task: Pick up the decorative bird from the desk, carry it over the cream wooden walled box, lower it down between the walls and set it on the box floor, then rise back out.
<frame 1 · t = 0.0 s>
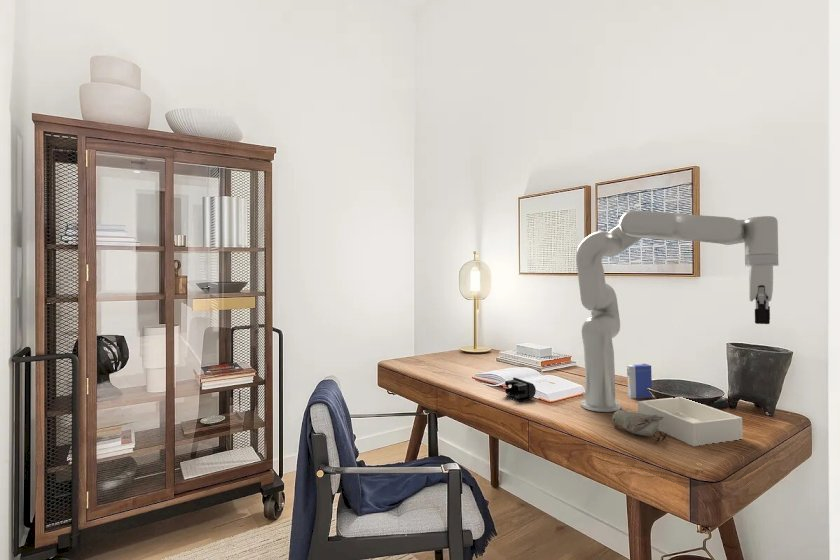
hand: (762, 321, 127), 31 cm above the table, tool pointing down, fingers open, 9 cm apart
walled box: (687, 429, 132), on the table
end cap: (520, 398, 170), on the table
disk drive: (701, 406, 155), on the table
walkman: (639, 397, 166), on the table
decorative bird: (637, 436, 129), on the table
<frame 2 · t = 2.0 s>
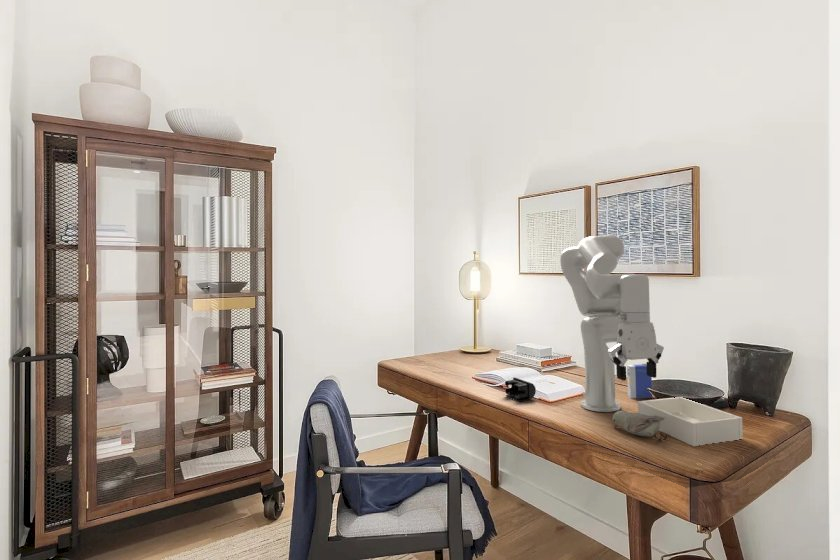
hand: (636, 378, 129), 16 cm above the table, tool pointing down, fingers open, 9 cm apart
nothing on the table moved.
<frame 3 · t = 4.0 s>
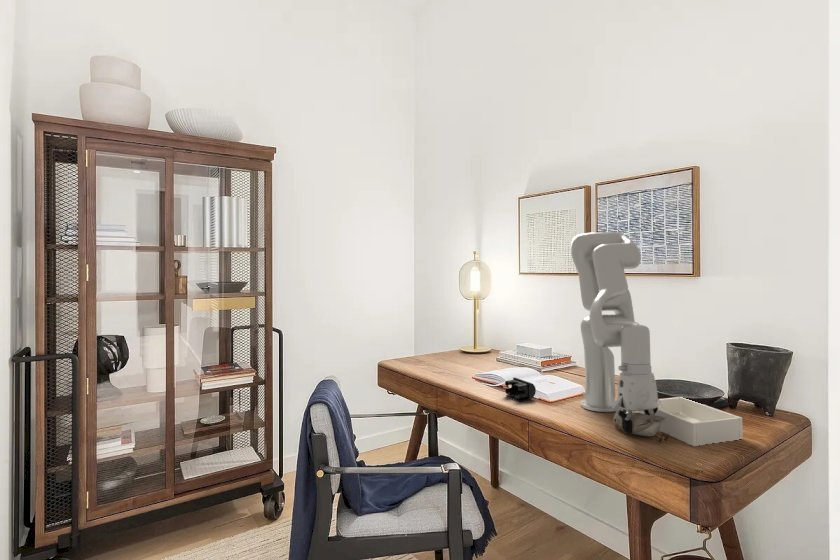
hand: (637, 431, 129), 1 cm above the table, tool pointing down, fingers closed on decorative bird, 6 cm apart
decorative bird: (639, 436, 128), on the table, touching gripper
everything else where it was.
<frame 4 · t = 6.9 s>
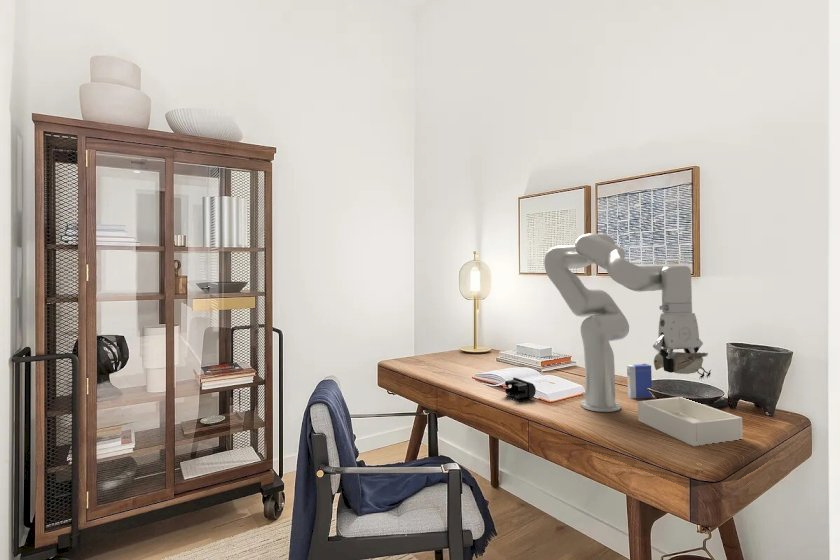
hand: (678, 370, 131), 18 cm above the table, tool pointing down, fingers closed on decorative bird, 5 cm apart
decorative bird: (680, 375, 130), point 16 cm above the table, touching gripper
everything else where it was.
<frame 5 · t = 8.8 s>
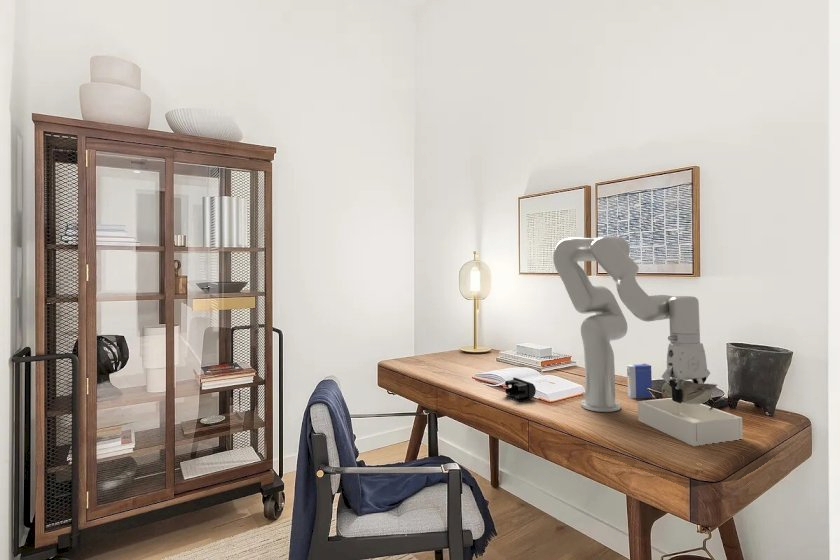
hand: (687, 400, 132), 9 cm above the table, tool pointing down, fingers closed on decorative bird, 5 cm apart
decorative bird: (689, 405, 131), point 7 cm above the table, touching gripper
everything else where it was.
when the fingers open (3 cm above the table, at t = 10.2 s): decorative bird drops 1 cm, resting on walled box.
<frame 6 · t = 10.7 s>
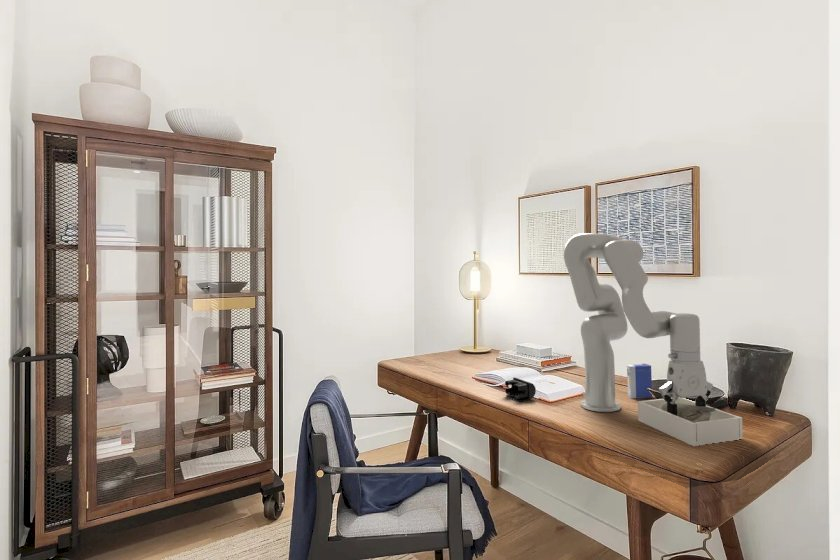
hand: (686, 414, 132), 4 cm above the table, tool pointing down, fingers open, 9 cm apart
decorative bird: (688, 427, 131), point 1 cm above the table, touching walled box
everything else where it was.
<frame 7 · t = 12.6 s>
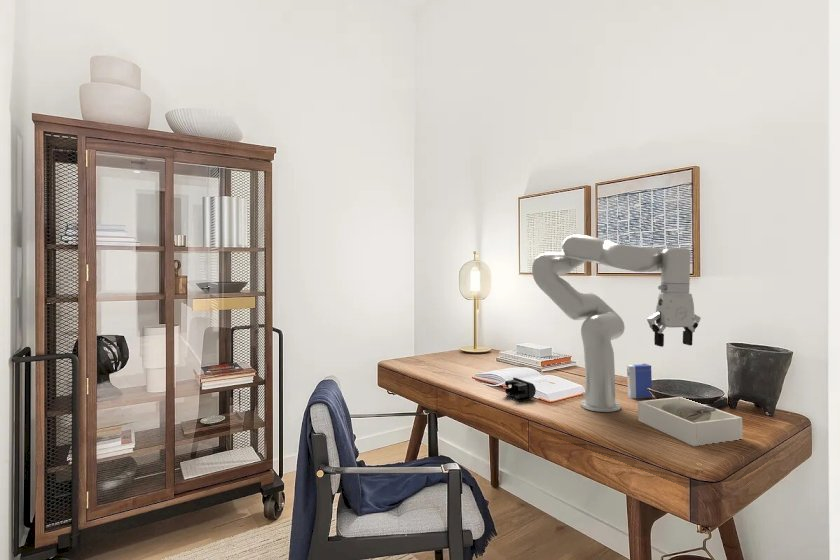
hand: (673, 345, 138), 24 cm above the table, tool pointing down, fingers open, 9 cm apart
nothing on the table moved.
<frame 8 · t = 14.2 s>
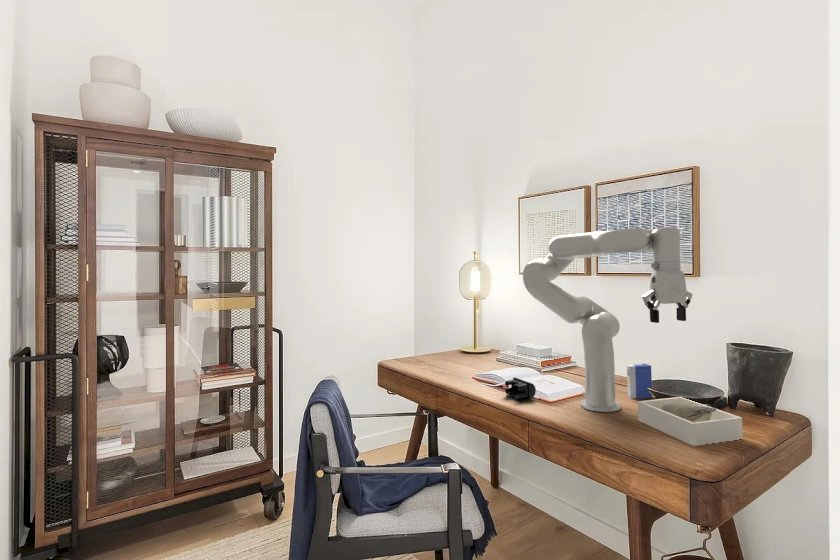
hand: (668, 321, 142), 30 cm above the table, tool pointing down, fingers open, 9 cm apart
nothing on the table moved.
at the end: decorative bird inside the target area on the walled box (0.7 cm from its centre), point 0.8 cm above the walled box's base; decorative bird tilted 1°; the gripper is holding nothing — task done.
